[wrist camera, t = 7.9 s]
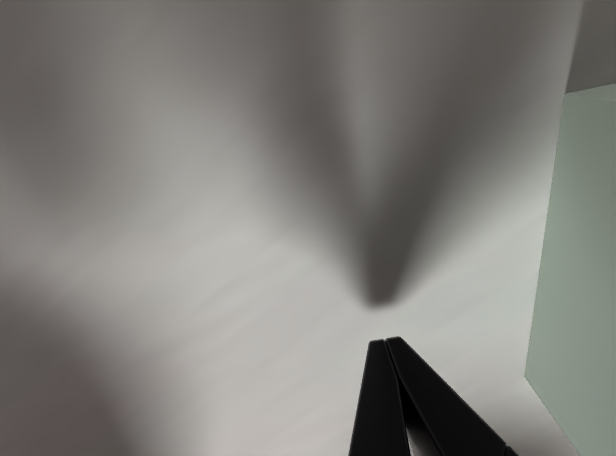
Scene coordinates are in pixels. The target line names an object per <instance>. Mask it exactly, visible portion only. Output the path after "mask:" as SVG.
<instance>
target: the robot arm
mask: <svg viewBox="0 0 616 456" xmlns="http://www.w3.org/2000/svg"><path fill="white" fill-rule="evenodd" d="M408 439H409V441H410V444H411V447H412V449H413V452H414V455H415V456H519V455H518V454H517V453H516V452H515V451H514V450H513V449H512V448H511V447H510V446H506V443H505V441H504V440H503V439H502V438H501V437H500V436H499V435H498V434H497V433H496V432H495V431H494V430H493V429H492V428H491V427H490V426H489V425H488V424H487V423H486V422H485V421H484V420H483V419H482V418H481V417H480V416H479V415H478V414H477V413H476V412H475V411H474V410H473V409H472V408H471V407H470V406H469V405H468V404H467V403H466V402H465V401H464V400H463V399H462V398H461V397H460V396H459V395H458V394H457V393H456V392H455V391H454V390H453V389H452V388H451V387H450V386H449V385H448V384H447V383H446V382H445V381H444V380H443V379H442V378H441V377H440V376H439V375H438V374H437V373H436V372H435V371H434V370H433V369H432V368H431V367H430V366H429V365H428V364H427V363H426V362H425V361H424V360H423V359H422V358H421V357H420V356H419V355H418V354H417V353H416V352H415V351H414V350H413V349H412V348H411V347H410V346H409V345H408V344H407V343H406V342H405V341H404V340H403V339H402V338H401V337H399V336H397V337H391V338H387V339H386V340H383V339H379V340H373V341H370V342H369V345H368V351H367V356H366V362H365V367H364V373H363V378H362V384H361V389H360V395H359V400H358V406H357V411H356V417H355V422H354V428H353V434H352V439H351V445H350V450H349V456H411V455H410V449H409V443H408Z"/></svg>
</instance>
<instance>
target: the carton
mask: <svg viewBox="0 0 616 456" xmlns="http://www.w3.org/2000/svg"><path fill="white" fill-rule="evenodd" d="M524 377H525V378H526V380H527V381H528V382H529V384H530V385H531V387H532V388H533V390H534V391H535V392H536V394H537V395H538V397H539V398H540V399H541V401H542V402H543V404H544V405H545V407H546V408H547V409H548V411H549V412H550V414H551V415H552V417H553V418H554V419H555V421H556V422H557V424H558V425H559V426H560V428H561V429H562V431H563V432H564V434H565V435H566V436H567V438H568V439H569V441H570V442H571V444H572V445H573V446H574V448H575V449H576V451H577V452H578V453H579V455H580V456H616V83H614V84H609V85H604V86H600V87H595V88H590V89H586V90H581V91H576V92H571V93H567V94H564V101H563V108H562V115H561V122H560V129H559V136H558V143H557V150H556V157H555V164H554V171H553V178H552V185H551V192H550V199H549V206H548V213H547V220H546V227H545V234H544V242H543V249H542V256H541V263H540V270H539V277H538V284H537V291H536V298H535V305H534V312H533V319H532V326H531V333H530V340H529V347H528V354H527V361H526V368H525V375H524Z"/></svg>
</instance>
